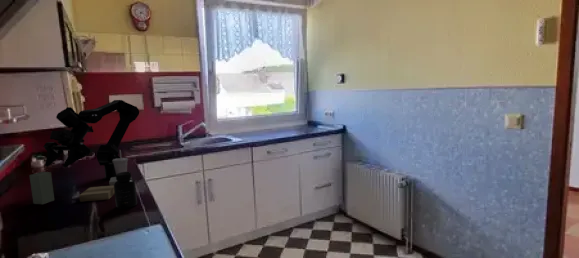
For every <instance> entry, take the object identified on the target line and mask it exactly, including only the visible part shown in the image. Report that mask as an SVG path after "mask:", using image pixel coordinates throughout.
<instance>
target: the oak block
mask: <svg viewBox="0 0 579 258" xmlns="http://www.w3.org/2000/svg"><path fill="white" fill-rule="evenodd" d="M78 196H79V202H82V203H83V202H91V201H93V202H94V201H95V202H96V201H105V200H106V201H107V200H110V198H112V197H113V196H115V193H114V185H112V186H109V185H101V186H89V187H88V188H87V189H86V190H84V191H83V192H82V193H80V194H79V195H78Z"/></svg>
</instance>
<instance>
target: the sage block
mask: <svg viewBox="0 0 579 258" xmlns="http://www.w3.org/2000/svg"><path fill="white" fill-rule="evenodd" d="M28 176H29V181H30V189H31V197H32V203H33V204H34V205H45V204H47V203H51V202H54V201H55V194H54V186H53V179H52V172H51V171H50V172H48V171H41V172H36V173H32V174H29V175H28Z"/></svg>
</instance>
